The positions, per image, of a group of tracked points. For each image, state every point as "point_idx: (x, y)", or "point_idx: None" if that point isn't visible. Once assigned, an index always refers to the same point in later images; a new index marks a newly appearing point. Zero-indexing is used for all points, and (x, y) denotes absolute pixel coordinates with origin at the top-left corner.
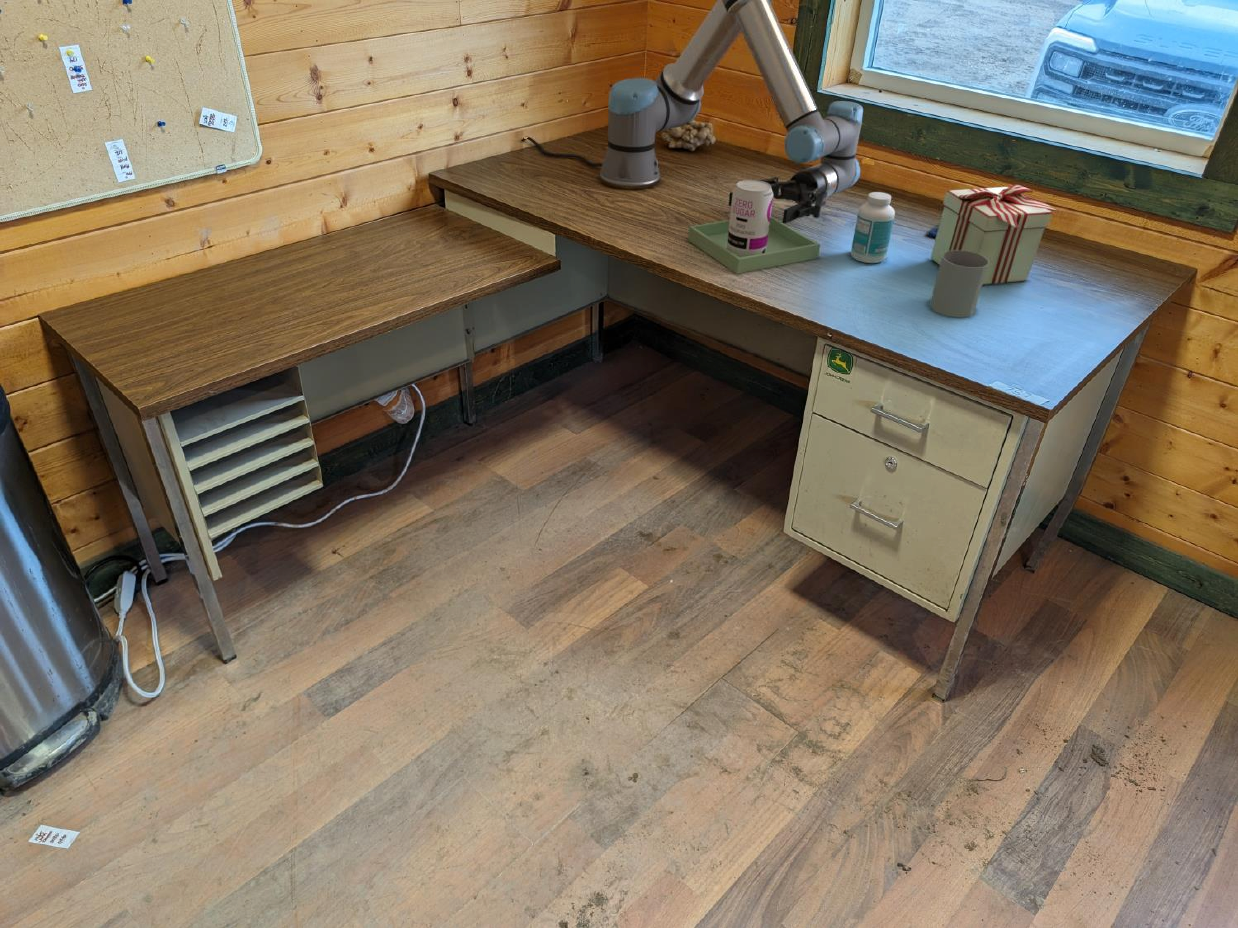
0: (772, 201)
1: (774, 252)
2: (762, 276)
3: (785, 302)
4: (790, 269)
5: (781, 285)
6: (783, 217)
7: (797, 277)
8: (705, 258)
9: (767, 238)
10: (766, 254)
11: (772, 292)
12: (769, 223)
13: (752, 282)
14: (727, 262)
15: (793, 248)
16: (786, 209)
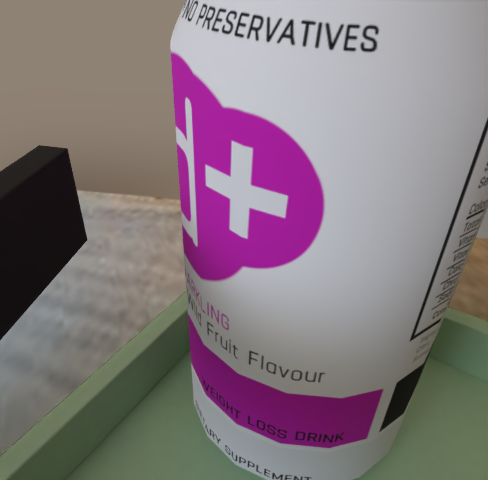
0: (174, 97)
1: (132, 342)
2: (158, 300)
3: None
4: (46, 411)
5: (75, 275)
6: (76, 204)
7: (10, 352)
8: None
9: (189, 334)
10: (165, 309)
11: (99, 234)
12: (184, 257)
13: (177, 256)
14: None
15: (19, 451)
16: (47, 155)
